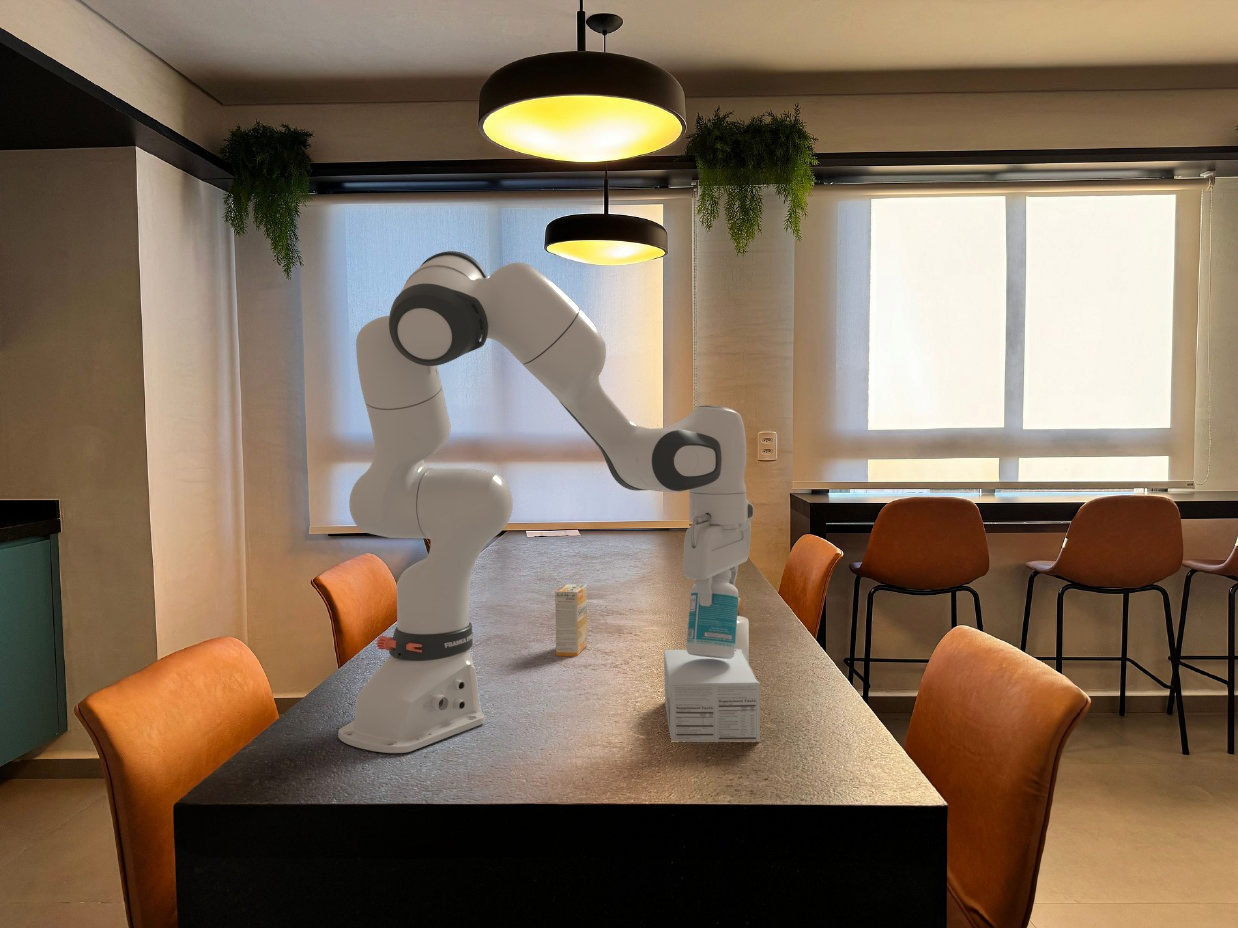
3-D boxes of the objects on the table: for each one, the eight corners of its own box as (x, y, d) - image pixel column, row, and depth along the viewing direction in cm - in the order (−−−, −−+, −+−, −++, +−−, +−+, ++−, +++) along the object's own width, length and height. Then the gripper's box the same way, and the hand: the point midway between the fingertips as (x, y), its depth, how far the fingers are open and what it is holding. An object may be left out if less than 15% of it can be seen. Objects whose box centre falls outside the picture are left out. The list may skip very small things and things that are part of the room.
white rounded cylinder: (740, 675, 144) (740, 627, 143) (699, 669, 148) (699, 622, 147) (754, 664, 151) (754, 617, 150) (715, 658, 155) (715, 613, 154)
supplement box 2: (663, 704, 130) (662, 648, 130) (743, 704, 130) (743, 648, 130) (669, 746, 113) (668, 681, 113) (761, 745, 113) (761, 681, 113)
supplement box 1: (578, 657, 156) (577, 592, 156) (555, 656, 157) (554, 591, 157) (588, 646, 164) (587, 583, 164) (566, 645, 165) (565, 583, 165)
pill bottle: (744, 660, 121) (750, 572, 124) (714, 656, 116) (721, 565, 119) (705, 657, 126) (712, 572, 129) (675, 652, 121) (683, 565, 124)
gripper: (712, 518, 112) (712, 614, 112) (757, 506, 130) (757, 589, 130) (671, 516, 115) (672, 610, 115) (721, 504, 133) (721, 586, 133)
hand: (717, 599), depth 123 cm, fingers open, 8 cm apart
